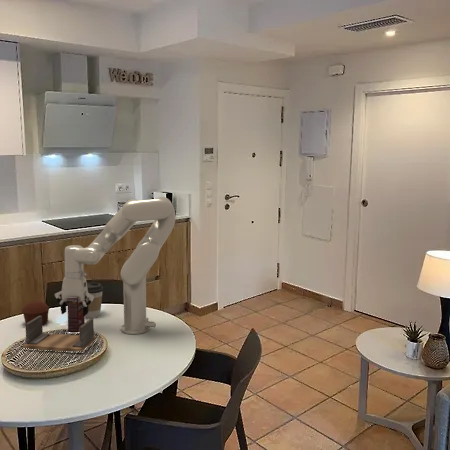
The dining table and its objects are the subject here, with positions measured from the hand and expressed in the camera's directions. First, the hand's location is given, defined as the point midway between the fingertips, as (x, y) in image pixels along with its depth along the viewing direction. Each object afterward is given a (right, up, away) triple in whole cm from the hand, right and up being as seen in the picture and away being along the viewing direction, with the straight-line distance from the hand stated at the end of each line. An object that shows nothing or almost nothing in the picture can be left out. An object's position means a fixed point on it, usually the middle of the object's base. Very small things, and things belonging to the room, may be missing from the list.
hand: (74, 313), depth 201 cm
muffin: (-20, -7, +10) cm, 24 cm away
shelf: (-1, -10, -15) cm, 18 cm away
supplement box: (+1, -8, +1) cm, 8 cm away
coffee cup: (+2, -5, +21) cm, 22 cm away
